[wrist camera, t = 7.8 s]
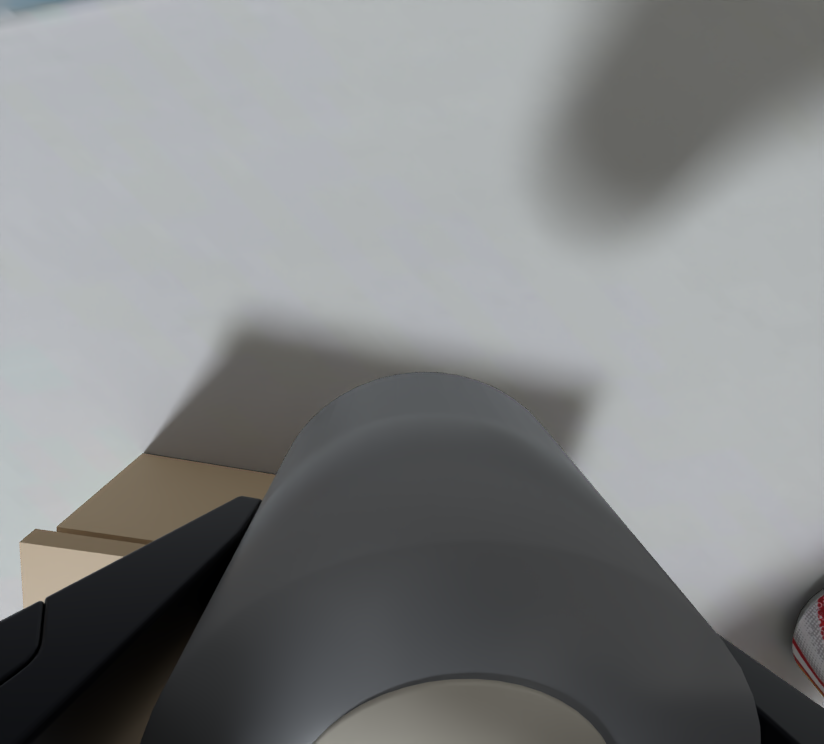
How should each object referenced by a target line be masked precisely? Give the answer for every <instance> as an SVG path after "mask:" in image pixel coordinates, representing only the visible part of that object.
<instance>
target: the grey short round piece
mask: <svg viewBox="0 0 824 744" xmlns="http://www.w3.org/2000/svg"><path fill="white" fill-rule="evenodd" d="M140 744H761V734H760V723H759V718H758V714H757V710H756V705H755V701H754V697H753V694H752V692H751V690H750V687H749V685H748V683H747V681H746V678H745V676H744V674H743V671H742V669H741V667H740V666H739V664H738V663H737V661H736V660H735V658H734V657H733V655H732V654H731V652H730V651H729V649H728V648H727V647H726V645H725V644H724V642H723V641H722V639H721V638H720V637H719V636H718V635H717V633H716V632H715V631H714V630H713V629H712V627H711V626H710V625H709V624H708V623H707V621H706V620H705V619H704V618H703V617H702V615H701V614H700V613H699V612H698V611H697V609H696V608H695V607H694V606H693V605H692V604H691V602H690V601H689V600H688V599H687V598H686V596H685V595H684V594H683V593H682V592H681V590H680V589H679V588H678V587H677V586H676V584H675V583H674V582H673V581H672V580H671V578H670V577H669V576H668V575H667V574H666V572H665V571H664V570H663V569H662V568H661V567H660V565H659V564H658V563H657V562H656V561H655V559H654V558H653V557H652V556H651V555H650V553H649V552H648V551H647V550H646V549H645V547H644V546H643V545H642V544H641V543H640V541H639V540H638V539H637V538H636V537H635V535H634V534H633V533H632V532H631V531H630V530H629V528H628V527H627V526H626V525H625V524H624V522H623V521H622V520H621V519H620V518H619V516H618V515H617V514H616V513H615V512H614V510H613V509H612V508H611V507H610V506H609V504H608V503H607V502H606V501H605V500H604V498H603V497H602V496H601V495H600V494H599V492H598V491H597V490H596V489H595V488H594V487H593V485H592V484H591V483H590V482H589V481H588V479H587V478H586V477H585V476H584V475H583V473H582V472H581V471H580V470H579V469H578V467H577V466H576V465H575V464H574V463H573V461H572V460H571V459H570V458H569V457H568V455H567V454H566V453H565V452H564V451H563V450H562V448H561V447H560V446H559V445H558V444H557V442H556V441H555V440H554V439H553V438H552V436H551V435H550V434H549V433H548V432H547V430H546V429H545V428H544V427H543V426H542V424H541V423H540V422H539V421H538V420H537V419H536V418H535V417H534V416H533V415H532V414H531V413H530V412H529V411H528V410H527V409H526V408H525V407H523V406H522V405H521V404H520V403H518V402H517V401H516V400H515V399H513V398H512V397H510V396H508V395H507V394H505V393H503V392H502V391H500V390H498V389H497V388H494V387H492V386H489V385H487V384H485V383H482V382H480V381H477V380H474V379H470V378H466V377H463V376H459V375H452V374H445V373H438V372H415V373H406V374H398V375H393V376H389V377H385V378H381V379H377V380H374V381H371V382H369V383H366V384H363V385H361V386H358V387H356V388H354V389H352V390H350V391H349V392H347V393H345V394H343V395H341V396H339V397H338V398H336V399H335V400H334V401H332V402H331V403H330V404H328V405H327V406H325V407H324V408H323V409H322V410H321V411H320V412H318V413H317V414H316V415H315V416H314V417H313V418H312V419H311V420H310V421H309V422H308V423H307V425H306V426H305V427H304V428H303V430H302V431H301V432H300V433H299V435H298V436H297V437H296V439H295V441H294V442H293V444H292V446H291V448H290V449H289V451H288V453H287V455H286V456H285V458H284V460H283V462H282V464H281V466H280V468H279V470H278V472H277V474H276V476H275V477H274V479H273V481H272V483H271V485H270V487H269V489H268V491H267V493H266V495H265V496H264V498H263V500H262V502H261V504H260V506H259V508H258V510H257V512H256V514H255V515H254V517H253V519H252V521H251V523H250V525H249V527H248V529H247V531H246V533H245V535H244V536H243V538H242V540H241V542H240V544H239V546H238V548H237V550H236V552H235V554H234V555H233V557H232V559H231V561H230V563H229V565H228V567H227V569H226V571H225V573H224V574H223V576H222V578H221V580H220V582H219V584H218V586H217V588H216V590H215V592H214V594H213V595H212V597H211V599H210V601H209V603H208V605H207V607H206V609H205V611H204V613H203V614H202V616H201V618H200V620H199V622H198V624H197V626H196V628H195V630H194V632H193V633H192V635H191V637H190V639H189V641H188V643H187V645H186V647H185V649H184V651H183V653H182V654H181V656H180V658H179V660H178V662H177V664H176V666H175V668H174V670H173V672H172V673H171V675H170V677H169V679H168V681H167V683H166V685H165V687H164V689H163V691H162V692H161V694H160V696H159V698H158V700H157V702H156V704H155V706H154V708H153V710H152V713H151V715H150V718H149V720H148V723H147V726H146V728H145V731H144V734H143V736H142V739H141V743H140Z"/></svg>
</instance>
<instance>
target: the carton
mask: <svg viewBox="0 0 824 744" xmlns="http://www.w3.org/2000/svg"><path fill="white" fill-rule="evenodd" d="M275 476H276V475H275V474H269V473H262V472H256V471H250V470H244V469H238V468H231V467H225V466H219V465H213V464H207V463H200V462H194V461H188V460H182V459H176V458H169V457H163V456H157V455H151V454H145V453H142V454H141V455H140V456H139V457H138V458H137V459H135V460H134V461H133V462H132V463H131V464H130V465H128V466H127V467H126V468H125V469H124V470H123V471H121V472H120V473H119V474H118V475H117V476H116V477H114V478H113V479H112V480H111V481H110V482H109V483H107V484H106V485H105V486H104V487H103V488H102V489H100V490H99V491H98V492H97V493H96V494H94V495H93V496H92V497H91V498H90V499H89V500H87V501H86V502H85V503H84V504H83V505H82V506H80V507H79V508H78V509H77V510H76V511H75V512H73V513H72V514H71V515H70V516H69V517H68V518H66V519H65V520H64V521H63V522H62V523H61V524H59V525H58V526H57V532H61V533H68V534H75V535H82V536H89V537H96V538H103V539H110V540H117V541H124V542H132V543H139V544H146V545H147V544H149V543H151V542H153V541H154V540H156V539H158V538H160V537H162V536H164V535H166V534H168V533H170V532H172V531H174V530H175V529H177V528H179V527H181V526H183V525H185V524H187V523H189V522H191V521H193V520H194V519H196V518H198V517H200V516H202V515H204V514H206V513H208V512H210V511H212V510H214V509H215V508H217V507H219V506H221V505H223V504H225V503H227V502H229V501H231V500H233V499H235V498H236V497H239V496H246V497H252V498H258V499H261V500H263V498H264V496H265V495H266V493H267V491H268V489H269V487H270V485H271V483H272V481H273V479H274V477H275Z"/></svg>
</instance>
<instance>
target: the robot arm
mask: <svg viewBox="0 0 824 744" xmlns="http://www.w3.org/2000/svg"><path fill="white" fill-rule="evenodd" d="M261 502H262V500H261V499H258V498H252V497H246V496H239V497H236V498H235V499H233V500H231V501H229V502H227V503H225V504H223V505H221V506H219V507H217V508H215V509H214V510H212V511H210V512H208V513H206V514H204V515H202V516H200V517H198V518H196V519H194V520H193V521H191V522H189V523H187V524H185V525H183V526H181V527H179V528H177V529H175V530H174V531H172V532H170V533H168V534H166V535H164V536H162V537H160V538H158V539H156V540H154V541H153V542H151V543H149V544H147V545H145V546H143V547H141V548H139V549H137V550H135V551H133V552H132V553H130V554H128V555H126V556H124V557H122V558H120V559H118V560H116V561H114V562H113V563H111V564H109V565H107V566H105V567H103V568H101V569H99V570H97V571H95V572H93V573H92V574H90V575H88V576H86V577H84V578H82V579H80V580H78V581H76V582H74V583H73V584H71V585H69V586H67V587H65V588H63V589H61V590H59V591H57V592H55V593H53V594H52V595H50V596H48V597H46V598H45V601H44V602H43V601H38V602H36V603H34V604H32V605H30V606H28V607H26V608H24V609H23V610H21V611H19V612H17V613H15V614H13V615H11V616H9V617H7V618H5V619H3V620H1V621H0V744H140V743H141V739H142V736H143V734H144V731H145V728H146V726H147V723H148V720H149V718H150V715H151V713H152V710H153V708H154V706H155V704H156V702H157V700H158V698H159V696H160V694H161V692H162V691H163V689H164V687H165V685H166V683H167V681H168V679H169V677H170V675H171V673H172V672H173V670H174V668H175V666H176V664H177V662H178V660H179V658H180V656H181V654H182V653H183V651H184V649H185V647H186V645H187V643H188V641H189V639H190V637H191V635H192V633H193V632H194V630H195V628H196V626H197V624H198V622H199V620H200V618H201V616H202V614H203V613H204V611H205V609H206V607H207V605H208V603H209V601H210V599H211V597H212V595H213V594H214V592H215V590H216V588H217V586H218V584H219V582H220V580H221V578H222V576H223V574H224V573H225V571H226V569H227V567H228V565H229V563H230V561H231V559H232V557H233V555H234V554H235V552H236V550H237V548H238V546H239V544H240V542H241V540H242V538H243V536H244V535H245V533H246V531H247V529H248V527H249V525H250V523H251V521H252V519H253V517H254V515H255V514H256V512H257V510H258V508H259V506H260V504H261ZM717 635H718V634H717ZM718 636H719V637H720V638H721V639H722V641H723V642H724V644H725V645H726V647H727V648H728V649H729V651H730V652H731V654H732V655H733V657H734V658H735V660H736V661H737V663H738V664H739V666H740V667H741V669H742V671H743V674H744V676H745V678H746V681H747V683H748V685H749V687H750V690H751V692H752V694H753V697H754V701H755V705H756V710H757V714H758V718H759V723H760V734H761V744H824V708H822V707H821V706H820V705H818V704H817V703H815V702H814V701H812V700H811V699H810V698H808V697H807V696H805V695H804V694H802V693H801V692H800V691H798V690H797V689H795V688H794V687H793V686H791V685H790V684H788V683H787V682H785V681H784V680H783V679H781V678H780V677H778V676H777V675H775V674H774V673H773V672H771V671H770V670H768V669H767V668H765V667H764V666H763V665H761V664H760V663H758V662H757V661H755V660H754V659H753V658H751V657H750V656H748V655H747V654H745V653H744V652H743V651H741V650H740V649H738V648H737V647H735V646H734V645H733V644H731V643H730V642H728V641H727V640H725V639H724V638H723V637H721V636H720V635H718Z"/></svg>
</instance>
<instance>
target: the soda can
mask: <svg viewBox="0 0 824 744" xmlns="http://www.w3.org/2000/svg"><path fill="white" fill-rule="evenodd" d="M792 650H793V656H794V658H795V661H796V663H797V664H798V666H799V667H800V668H801V670H802V671H803V672H804V673H805V675H806V676H807V677H808V678H809V679H810V681H811V682H812V683H813V684H814V686H815V687H816V688H817V689H818V691H819V692H820V693H821V694H822V695H823V697H824V589H823V590H821V591H820V592H818V593H817V594H816V595H815V596H813V597H812V598H811V599H810V600H809V601H808V602H807V604H806V605H805V606H804V608H803V609H802V611H801V612H800V615H799V617H798V620H797V623H796V628H795V631H794V635H793V641H792Z"/></svg>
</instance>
